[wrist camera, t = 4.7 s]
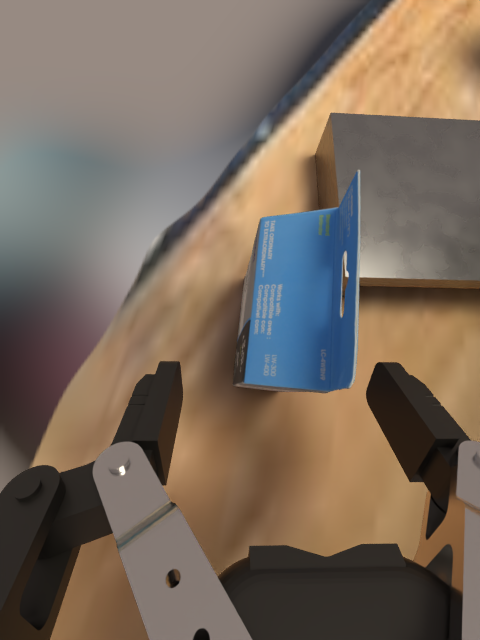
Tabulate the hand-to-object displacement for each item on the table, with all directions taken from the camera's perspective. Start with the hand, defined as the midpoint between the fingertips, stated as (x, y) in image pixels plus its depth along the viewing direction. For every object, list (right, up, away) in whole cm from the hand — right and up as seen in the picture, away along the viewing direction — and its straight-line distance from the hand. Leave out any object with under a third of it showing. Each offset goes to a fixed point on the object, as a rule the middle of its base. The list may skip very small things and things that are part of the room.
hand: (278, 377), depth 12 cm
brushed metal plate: (+14, +11, +13) cm, 22 cm away
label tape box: (0, +1, +10) cm, 11 cm away
